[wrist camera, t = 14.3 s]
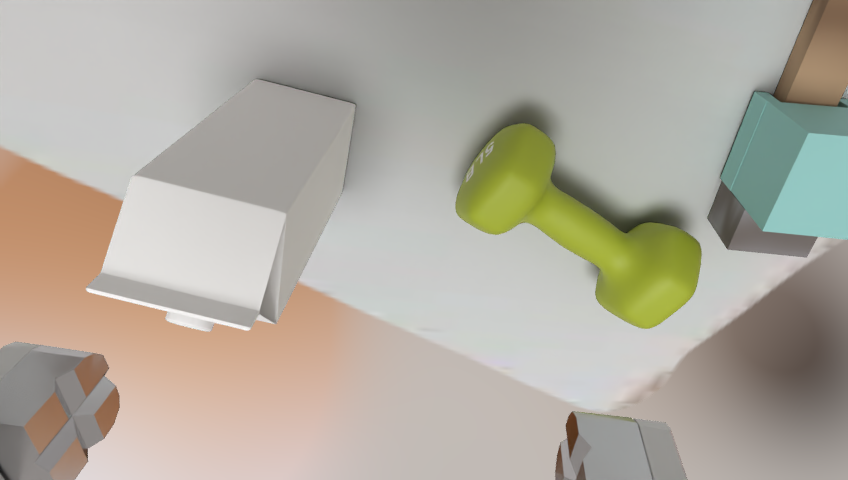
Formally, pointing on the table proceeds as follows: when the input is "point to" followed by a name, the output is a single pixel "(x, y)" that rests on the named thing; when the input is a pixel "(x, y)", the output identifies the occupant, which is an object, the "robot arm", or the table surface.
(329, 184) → the milk carton
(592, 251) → the dumbbell
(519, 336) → the table surface
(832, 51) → the rail
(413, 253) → the table surface
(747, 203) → the block
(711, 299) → the table surface
